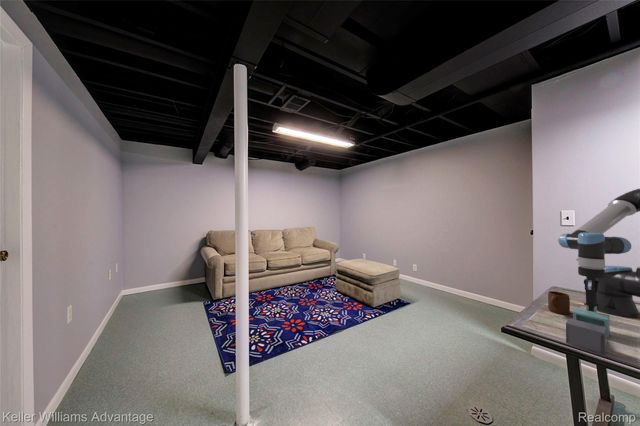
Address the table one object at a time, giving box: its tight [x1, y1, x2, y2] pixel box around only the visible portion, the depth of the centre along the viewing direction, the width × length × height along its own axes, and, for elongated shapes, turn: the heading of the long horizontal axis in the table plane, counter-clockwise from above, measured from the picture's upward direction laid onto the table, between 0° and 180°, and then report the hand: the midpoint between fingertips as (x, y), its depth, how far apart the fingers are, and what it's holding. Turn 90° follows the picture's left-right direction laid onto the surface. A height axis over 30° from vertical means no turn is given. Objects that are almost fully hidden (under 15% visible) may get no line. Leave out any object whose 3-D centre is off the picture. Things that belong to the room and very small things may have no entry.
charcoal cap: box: [565, 317, 608, 356], centre depth 85 cm, size 7×9×8 cm
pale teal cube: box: [572, 307, 611, 340], centre depth 95 cm, size 7×9×8 cm
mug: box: [547, 290, 571, 316], centre depth 113 cm, size 12×8×9 cm, turn 118°
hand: (591, 320), depth 98 cm, fingers closed
